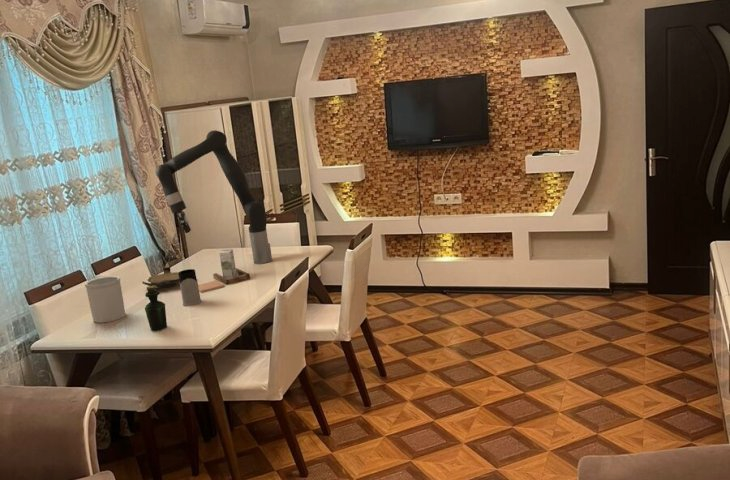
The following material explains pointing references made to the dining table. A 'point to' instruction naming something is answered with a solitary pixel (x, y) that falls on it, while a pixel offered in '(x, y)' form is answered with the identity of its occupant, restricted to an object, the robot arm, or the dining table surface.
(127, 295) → the dining table surface
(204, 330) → the dining table surface
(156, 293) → the potion bottle
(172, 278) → the oil lamp
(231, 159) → the robot arm
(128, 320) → the dining table surface
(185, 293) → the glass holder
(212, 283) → the terracotta pad
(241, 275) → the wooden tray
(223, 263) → the syrup box
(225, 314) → the dining table surface
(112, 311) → the utensil holder
